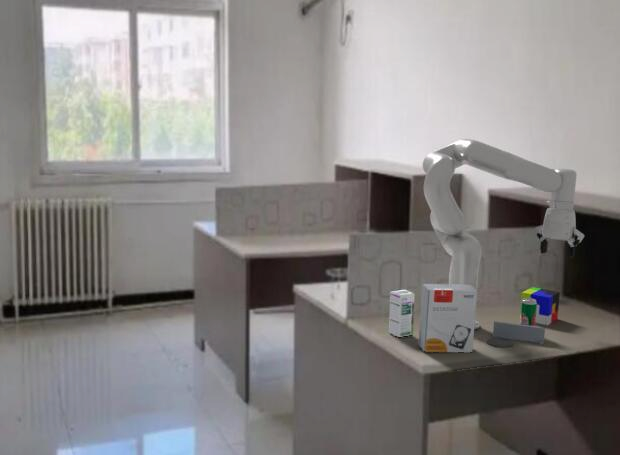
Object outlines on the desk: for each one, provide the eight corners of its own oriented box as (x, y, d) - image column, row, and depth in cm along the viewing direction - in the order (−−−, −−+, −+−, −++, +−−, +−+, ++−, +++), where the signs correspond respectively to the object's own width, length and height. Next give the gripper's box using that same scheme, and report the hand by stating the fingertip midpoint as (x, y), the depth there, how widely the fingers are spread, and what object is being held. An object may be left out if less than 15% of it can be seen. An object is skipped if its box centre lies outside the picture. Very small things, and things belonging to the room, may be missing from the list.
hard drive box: (423, 353, 230) (427, 289, 226) (417, 345, 237) (421, 283, 234) (473, 353, 232) (477, 289, 228) (466, 344, 239) (470, 283, 236)
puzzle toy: (547, 325, 262) (549, 297, 260) (519, 319, 268) (521, 292, 266) (557, 319, 270) (559, 292, 268) (530, 313, 276) (532, 287, 274)
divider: (492, 337, 247) (493, 322, 246) (493, 334, 250) (494, 320, 249) (543, 344, 241) (544, 329, 240) (544, 341, 244) (545, 326, 243)
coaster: (485, 345, 239) (485, 343, 239) (488, 337, 246) (489, 336, 246) (511, 348, 236) (511, 346, 236) (514, 341, 243) (514, 339, 243)
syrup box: (399, 338, 243) (401, 294, 241) (388, 333, 248) (390, 290, 246) (413, 336, 246) (415, 292, 244) (401, 331, 251) (403, 288, 249)
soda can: (515, 333, 252) (518, 298, 250) (527, 331, 254) (530, 297, 252) (525, 337, 247) (528, 302, 245) (537, 336, 249) (540, 301, 247)
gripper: (532, 203, 259) (528, 252, 262) (581, 209, 247) (576, 261, 250) (543, 201, 264) (538, 249, 267) (591, 208, 252) (586, 258, 255)
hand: (556, 255), depth 258 cm, fingers open, 9 cm apart
